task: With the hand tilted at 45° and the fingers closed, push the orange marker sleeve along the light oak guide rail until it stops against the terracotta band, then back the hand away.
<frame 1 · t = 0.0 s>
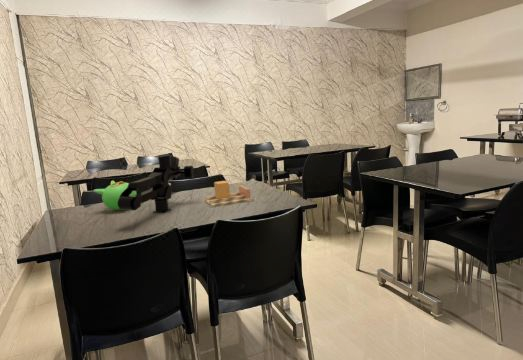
hand: (184, 169, 201), 17 cm above the table, tool horizontal, fingers open, 9 cm apart
stop band: (244, 191, 196), point 4 cm above the table
green teapot: (120, 209, 190), on the table
guide rail: (228, 201, 193), on the table
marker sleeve: (221, 190, 191), point 6 cm above the table, slide at 0.0 cm
medicine bottle: (164, 197, 211), on the table
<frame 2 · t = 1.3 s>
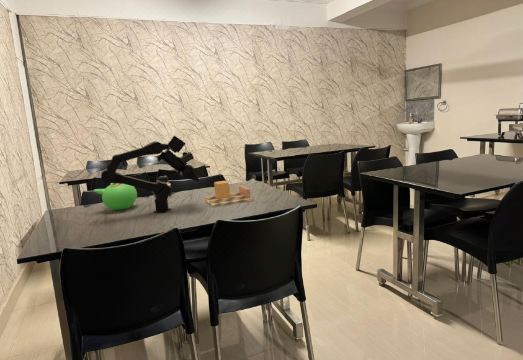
hand: (196, 179, 185), 14 cm above the table, tool tilted 45°, fingers open, 8 cm apart
nothing on the table moved.
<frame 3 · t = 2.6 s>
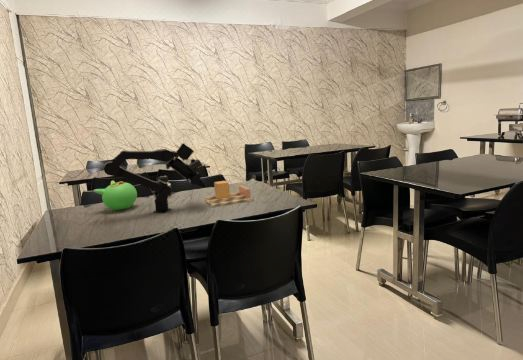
hand: (204, 186, 187), 10 cm above the table, tool tilted 45°, fingers closed
nothing on the table moved.
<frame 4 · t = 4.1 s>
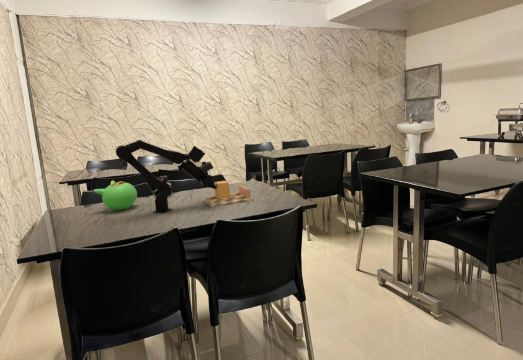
hand: (215, 188, 189), 8 cm above the table, tool tilted 45°, fingers closed, pressing on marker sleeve
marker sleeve: (222, 190, 191), point 6 cm above the table, slide at 0.1 cm, touching gripper
everything else where it was.
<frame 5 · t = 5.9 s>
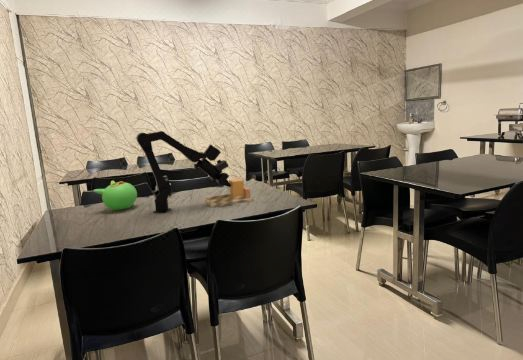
hand: (230, 186, 192), 8 cm above the table, tool tilted 45°, fingers closed, pressing on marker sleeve
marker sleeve: (236, 188, 194), point 6 cm above the table, slide at 8.1 cm, touching gripper
everything else where it was.
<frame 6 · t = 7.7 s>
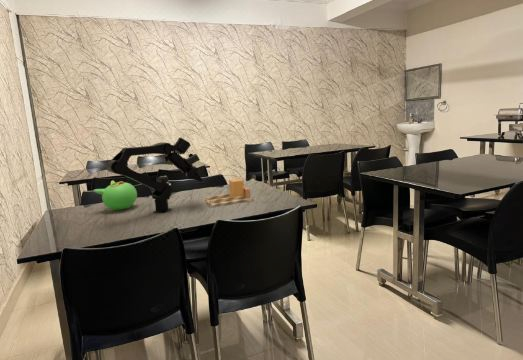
hand: (201, 180, 188), 12 cm above the table, tool tilted 45°, fingers closed
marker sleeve: (236, 188, 194), point 6 cm above the table, slide at 8.0 cm
everything else where it was.
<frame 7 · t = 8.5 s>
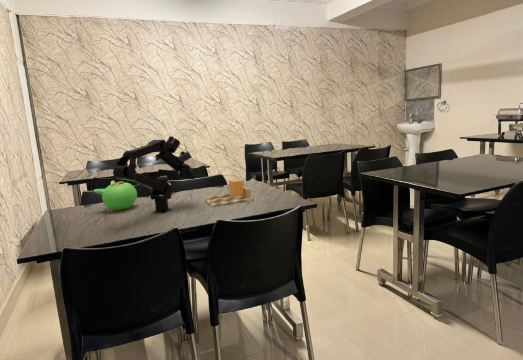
hand: (194, 178, 188), 14 cm above the table, tool tilted 45°, fingers closed
nothing on the table moved.
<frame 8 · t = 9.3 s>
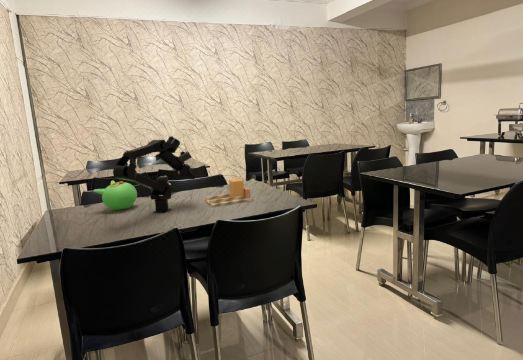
hand: (194, 178, 188), 14 cm above the table, tool tilted 45°, fingers closed
nothing on the table moved.
at the end: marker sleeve slide at 8.0 cm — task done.
